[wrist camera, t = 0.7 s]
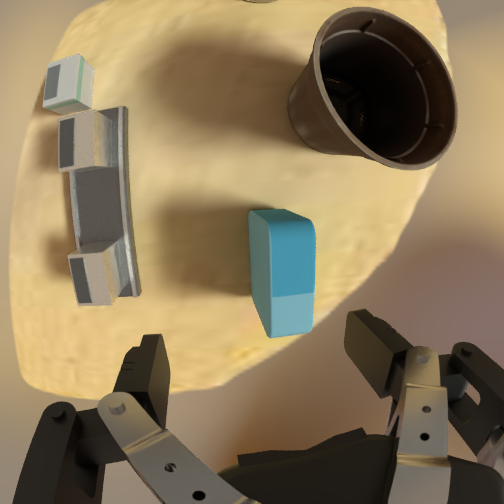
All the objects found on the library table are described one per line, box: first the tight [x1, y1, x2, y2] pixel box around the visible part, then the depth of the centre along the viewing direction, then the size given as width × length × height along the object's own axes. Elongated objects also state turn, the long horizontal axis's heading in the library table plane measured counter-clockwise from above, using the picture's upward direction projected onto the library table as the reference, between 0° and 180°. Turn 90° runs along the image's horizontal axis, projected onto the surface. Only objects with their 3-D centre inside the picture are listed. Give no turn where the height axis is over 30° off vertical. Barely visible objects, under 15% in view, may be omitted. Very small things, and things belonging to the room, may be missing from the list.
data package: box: [248, 209, 316, 338], centre depth 32 cm, size 12×4×12 cm, turn 2°
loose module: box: [43, 54, 95, 116], centre depth 25 cm, size 6×5×6 cm
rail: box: [58, 106, 142, 306], centre depth 29 cm, size 24×8×8 cm, turn 2°
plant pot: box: [288, 7, 458, 170], centre depth 27 cm, size 16×16×16 cm
